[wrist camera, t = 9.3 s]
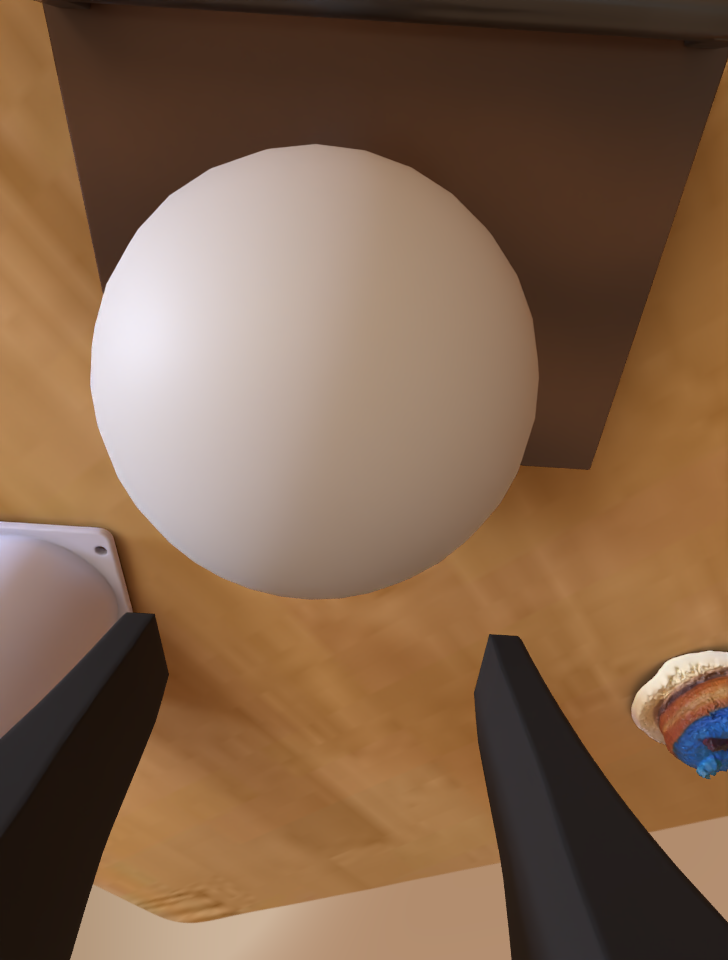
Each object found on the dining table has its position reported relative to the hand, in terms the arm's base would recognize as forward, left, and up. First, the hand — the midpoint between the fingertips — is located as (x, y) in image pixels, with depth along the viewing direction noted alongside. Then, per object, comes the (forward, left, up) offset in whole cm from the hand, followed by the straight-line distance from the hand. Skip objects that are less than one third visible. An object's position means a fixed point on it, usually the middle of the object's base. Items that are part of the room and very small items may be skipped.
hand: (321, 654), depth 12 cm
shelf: (+7, -1, -10) cm, 12 cm away
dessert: (-14, -19, -11) cm, 26 cm away
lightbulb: (+7, 0, -8) cm, 10 cm away
